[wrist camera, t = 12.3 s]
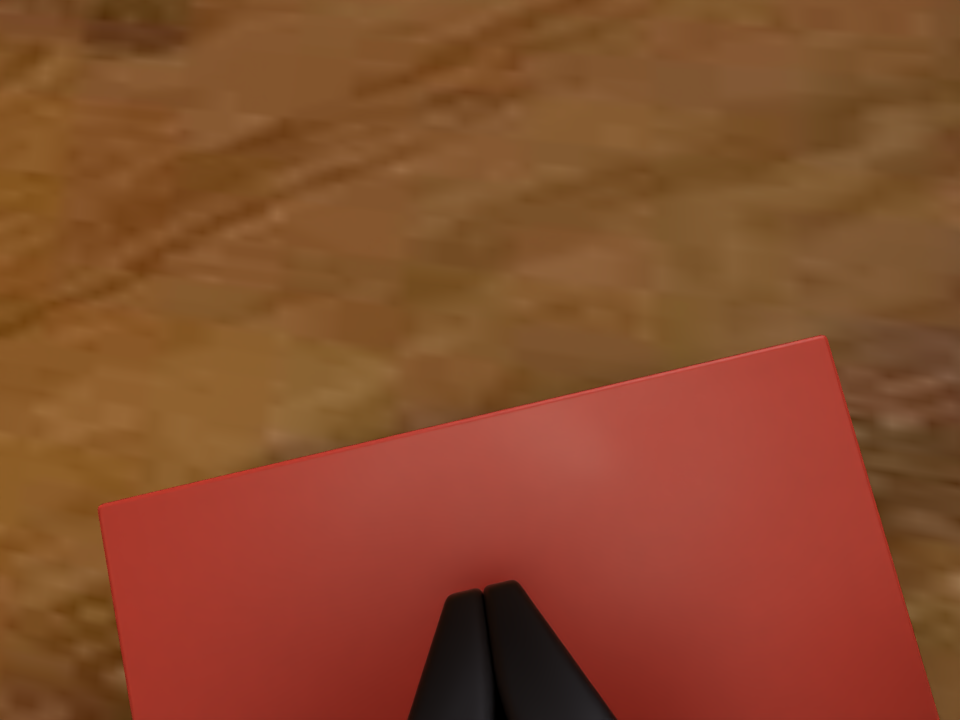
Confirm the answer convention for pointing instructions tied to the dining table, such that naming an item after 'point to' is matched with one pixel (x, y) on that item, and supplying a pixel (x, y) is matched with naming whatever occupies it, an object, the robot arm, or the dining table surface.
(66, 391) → the dining table surface
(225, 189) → the dining table surface
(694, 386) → the lid
